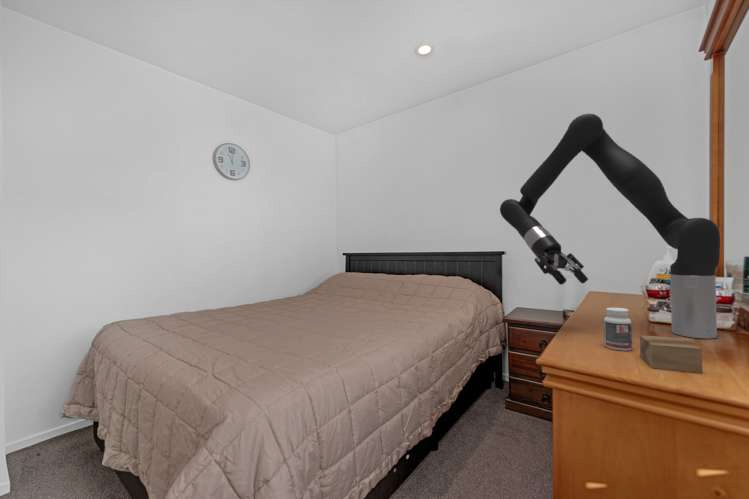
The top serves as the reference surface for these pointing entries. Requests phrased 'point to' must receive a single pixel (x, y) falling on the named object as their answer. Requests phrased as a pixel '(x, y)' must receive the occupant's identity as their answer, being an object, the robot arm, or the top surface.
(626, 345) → the pill bottle
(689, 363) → the walnut block
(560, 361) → the top surface
